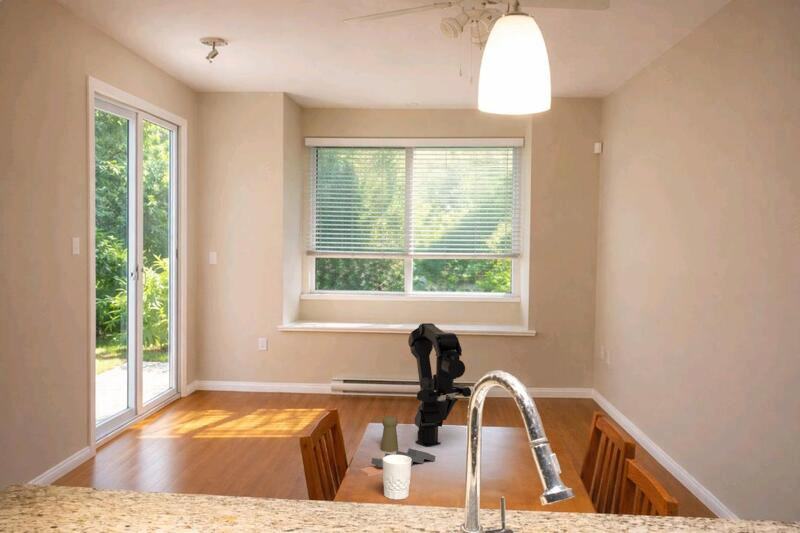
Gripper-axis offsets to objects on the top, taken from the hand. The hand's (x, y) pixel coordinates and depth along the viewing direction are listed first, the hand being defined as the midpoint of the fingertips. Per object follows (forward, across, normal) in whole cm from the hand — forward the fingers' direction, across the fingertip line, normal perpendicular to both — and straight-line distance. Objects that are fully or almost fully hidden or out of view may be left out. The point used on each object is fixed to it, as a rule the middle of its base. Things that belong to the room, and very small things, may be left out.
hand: (443, 419), depth 220 cm
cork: (+12, +10, -16) cm, 22 cm away
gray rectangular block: (+11, +5, 0) cm, 12 cm away
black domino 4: (+11, +19, 0) cm, 22 cm away
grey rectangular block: (+11, +14, 0) cm, 18 cm away
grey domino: (+11, +10, 0) cm, 15 cm away
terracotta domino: (+12, +23, 0) cm, 26 cm away
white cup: (+12, +33, +19) cm, 40 cm away
